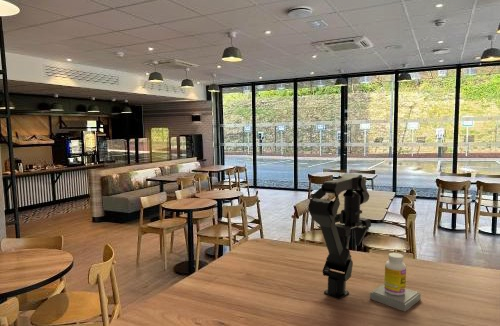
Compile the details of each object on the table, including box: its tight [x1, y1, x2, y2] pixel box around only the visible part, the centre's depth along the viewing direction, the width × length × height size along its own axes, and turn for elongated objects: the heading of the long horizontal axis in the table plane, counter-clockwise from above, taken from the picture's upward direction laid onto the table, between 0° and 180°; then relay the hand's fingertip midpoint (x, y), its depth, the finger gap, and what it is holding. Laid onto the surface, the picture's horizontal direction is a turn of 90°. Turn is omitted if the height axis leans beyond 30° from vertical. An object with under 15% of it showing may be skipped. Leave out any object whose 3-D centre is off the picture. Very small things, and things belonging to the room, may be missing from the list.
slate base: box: [369, 283, 422, 312], centre depth 122 cm, size 12×12×2 cm
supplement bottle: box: [383, 252, 407, 296], centre depth 121 cm, size 7×7×13 cm
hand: (350, 248), depth 135 cm, fingers open, 9 cm apart
